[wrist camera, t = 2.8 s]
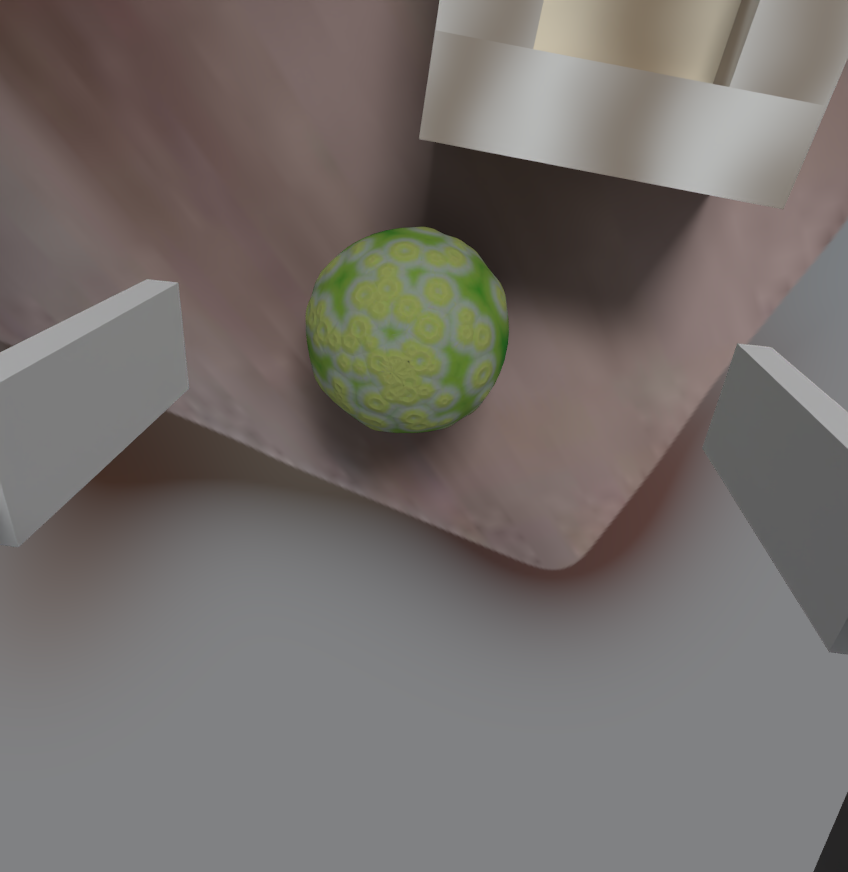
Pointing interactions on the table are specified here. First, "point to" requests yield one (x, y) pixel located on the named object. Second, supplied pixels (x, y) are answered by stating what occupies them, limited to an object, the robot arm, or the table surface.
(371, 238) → the decorative ball
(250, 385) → the table surface
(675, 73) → the display stand
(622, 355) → the table surface
